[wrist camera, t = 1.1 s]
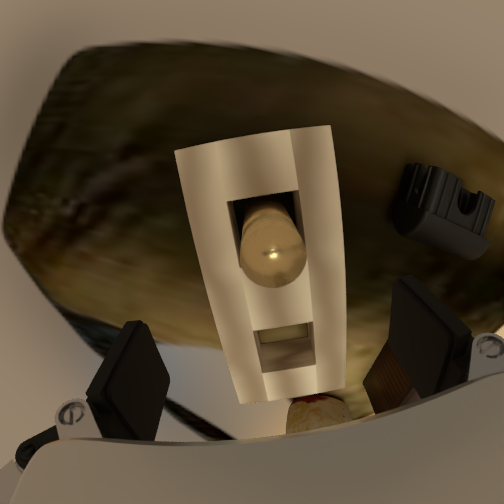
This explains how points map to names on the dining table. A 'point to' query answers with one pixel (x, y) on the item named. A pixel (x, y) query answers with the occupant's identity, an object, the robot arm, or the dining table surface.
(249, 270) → the pin
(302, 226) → the board
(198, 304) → the dining table surface
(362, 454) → the robot arm
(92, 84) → the dining table surface
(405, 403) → the manual coffee grinder
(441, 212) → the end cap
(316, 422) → the food model
